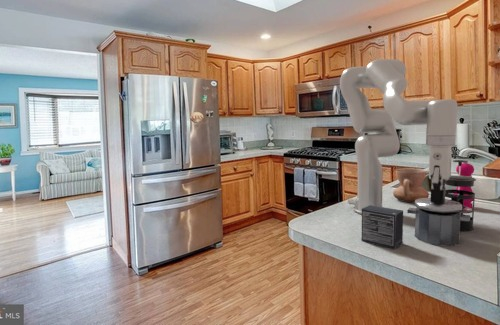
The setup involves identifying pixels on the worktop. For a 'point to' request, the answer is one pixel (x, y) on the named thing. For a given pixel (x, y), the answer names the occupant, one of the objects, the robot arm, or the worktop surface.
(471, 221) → the french press
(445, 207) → the lid
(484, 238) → the worktop surface
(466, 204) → the pepper mill
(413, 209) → the pot
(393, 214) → the small box
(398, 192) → the ceramic jug
